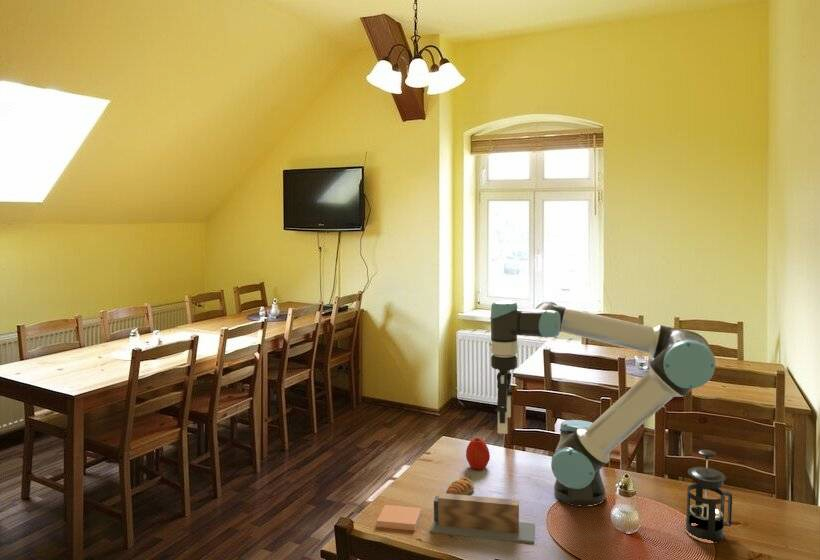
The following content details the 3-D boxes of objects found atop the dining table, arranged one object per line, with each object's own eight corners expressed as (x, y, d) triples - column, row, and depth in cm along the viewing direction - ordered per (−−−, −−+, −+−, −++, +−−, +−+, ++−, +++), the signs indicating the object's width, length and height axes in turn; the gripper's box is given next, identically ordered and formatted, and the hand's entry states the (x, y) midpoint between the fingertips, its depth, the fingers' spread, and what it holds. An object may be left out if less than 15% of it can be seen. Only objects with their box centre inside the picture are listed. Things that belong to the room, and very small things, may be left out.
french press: (689, 543, 152) (692, 458, 150) (677, 524, 162) (679, 444, 159) (737, 544, 151) (740, 459, 148) (722, 525, 160) (725, 445, 158)
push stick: (519, 527, 161) (518, 499, 160) (518, 533, 158) (518, 505, 157) (436, 519, 166) (435, 492, 165) (434, 524, 163) (433, 497, 162)
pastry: (458, 502, 177) (458, 490, 176) (440, 496, 181) (440, 484, 181) (475, 491, 184) (475, 479, 184) (458, 485, 188) (458, 474, 188)
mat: (534, 525, 163) (534, 523, 162) (533, 543, 154) (533, 541, 154) (436, 515, 169) (435, 513, 169) (429, 532, 160) (429, 530, 160)
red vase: (463, 463, 204) (463, 433, 203) (486, 461, 205) (486, 432, 204) (468, 473, 196) (468, 442, 195) (492, 471, 197) (492, 441, 196)
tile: (421, 508, 170) (384, 504, 172) (415, 524, 161) (376, 520, 164) (421, 515, 170) (385, 512, 173) (415, 532, 161) (376, 528, 164)
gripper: (495, 344, 183) (495, 409, 185) (486, 364, 158) (487, 439, 161) (519, 345, 181) (519, 411, 183) (514, 365, 157) (514, 441, 159)
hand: (504, 424), depth 172 cm, fingers open, 13 cm apart
